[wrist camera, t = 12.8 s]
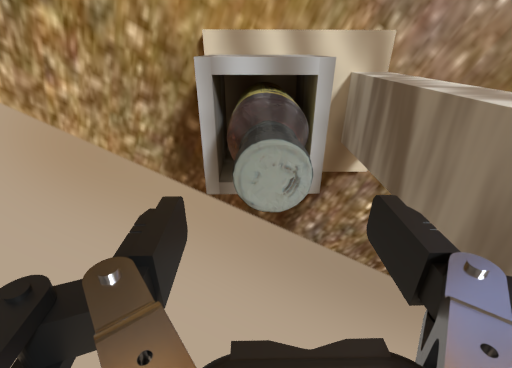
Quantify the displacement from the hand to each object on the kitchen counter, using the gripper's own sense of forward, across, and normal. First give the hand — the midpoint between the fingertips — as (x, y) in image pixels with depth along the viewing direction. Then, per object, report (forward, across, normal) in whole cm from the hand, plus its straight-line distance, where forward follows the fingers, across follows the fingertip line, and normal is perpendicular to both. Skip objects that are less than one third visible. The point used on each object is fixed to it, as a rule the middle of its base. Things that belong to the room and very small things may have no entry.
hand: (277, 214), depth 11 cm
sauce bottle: (+22, 0, 0) cm, 22 cm away
